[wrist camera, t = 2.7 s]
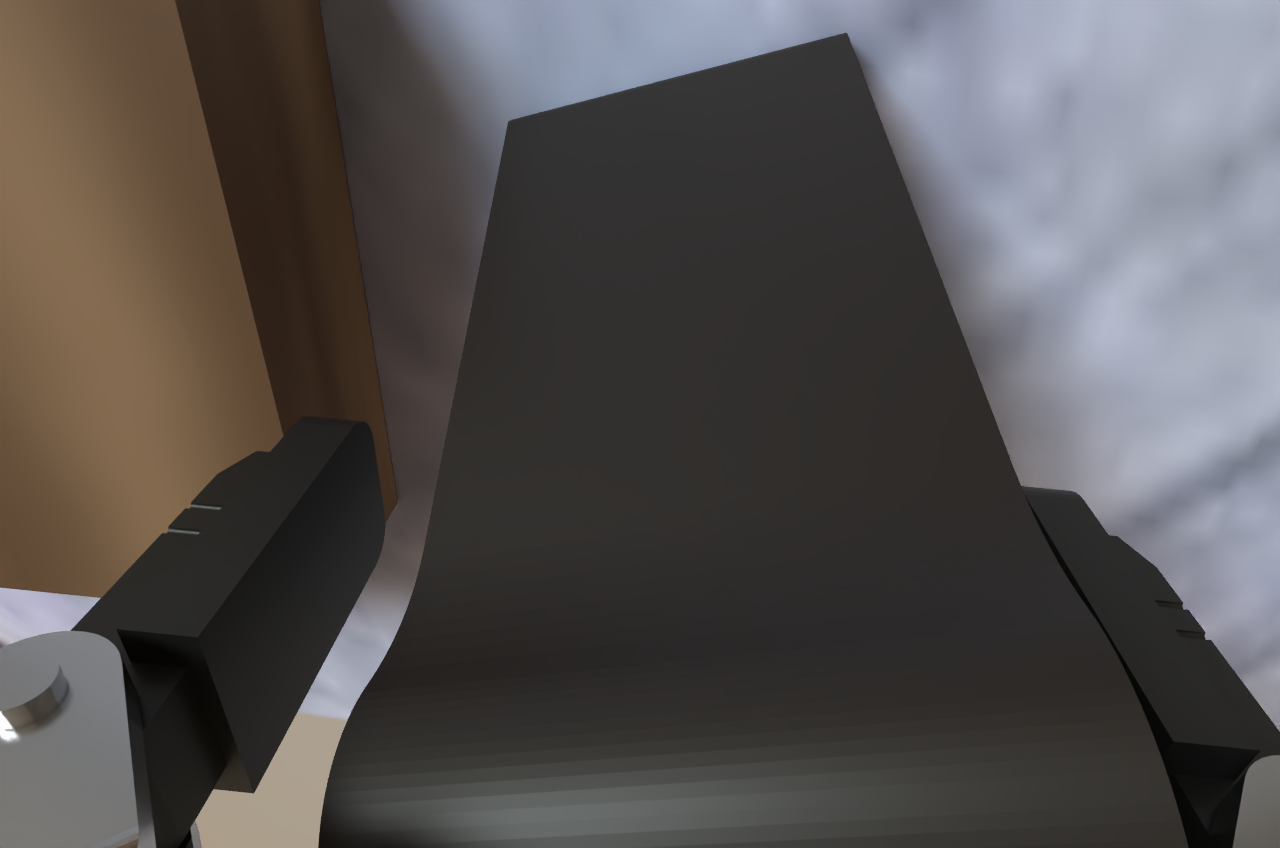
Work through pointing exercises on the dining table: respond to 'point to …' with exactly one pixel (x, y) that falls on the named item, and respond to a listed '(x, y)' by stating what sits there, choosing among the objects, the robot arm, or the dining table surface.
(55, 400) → the walnut plinth
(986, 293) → the dining table surface
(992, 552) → the phone stand
